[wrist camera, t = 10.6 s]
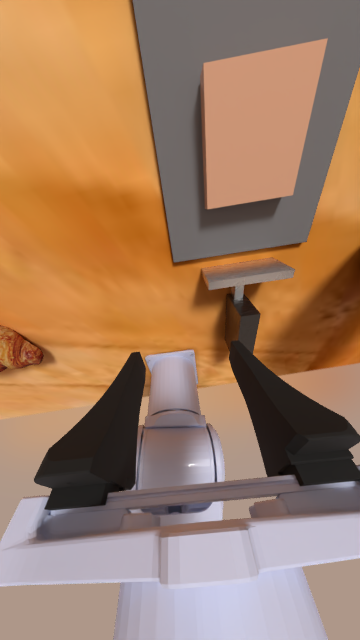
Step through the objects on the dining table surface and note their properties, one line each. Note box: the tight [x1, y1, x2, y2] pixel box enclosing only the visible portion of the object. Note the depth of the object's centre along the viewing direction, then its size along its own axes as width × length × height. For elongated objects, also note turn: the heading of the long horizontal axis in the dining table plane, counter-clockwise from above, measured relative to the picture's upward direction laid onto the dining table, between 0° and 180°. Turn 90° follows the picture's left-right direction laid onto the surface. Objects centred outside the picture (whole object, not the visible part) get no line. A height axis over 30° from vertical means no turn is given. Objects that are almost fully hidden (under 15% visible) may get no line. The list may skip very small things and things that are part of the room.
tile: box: [200, 38, 328, 209], centre depth 12 cm, size 2×7×7 cm
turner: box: [202, 258, 295, 354], centre depth 20 cm, size 12×8×5 cm
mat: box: [133, 0, 360, 262], centre depth 12 cm, size 18×14×1 cm
